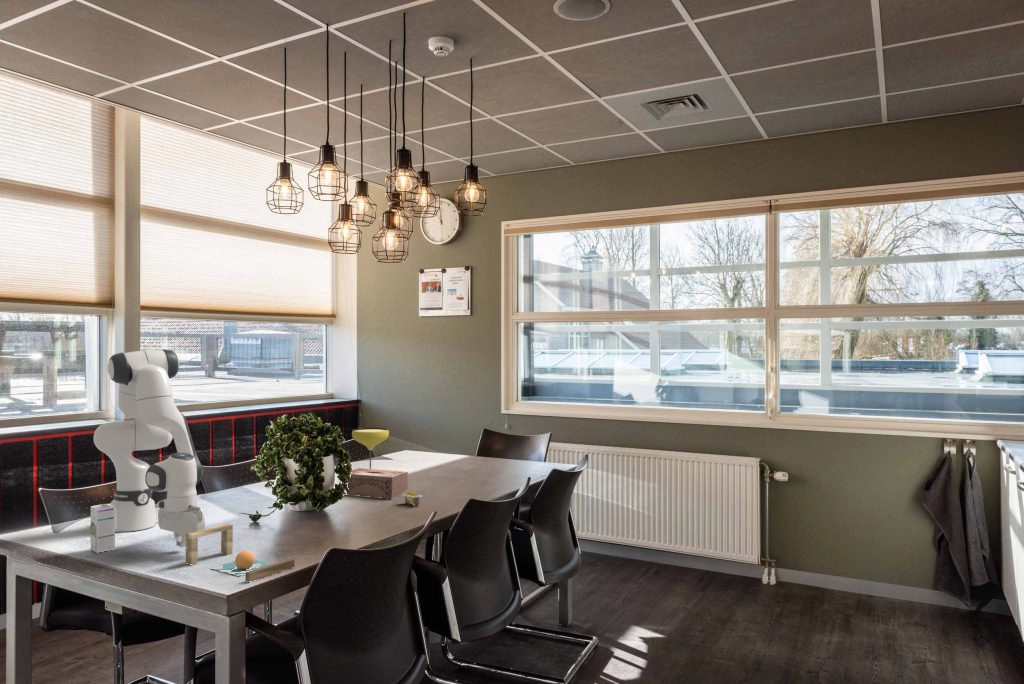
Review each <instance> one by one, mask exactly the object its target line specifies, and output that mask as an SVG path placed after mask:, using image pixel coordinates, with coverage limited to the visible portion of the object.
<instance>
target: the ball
mask: <svg viewBox="0 0 1024 684" xmlns="http://www.w3.org/2000/svg"><path fill="white" fill-rule="evenodd" d="M255 560H256V558H255V554H254V553H253V552H252V551H250V550H246V549H245V550H241V551H239V553H238V554H236V557H235V559H234V561H235V563H236V566H237V567H238V568H239V569H242V570H246V569H249V568H250V567H252V565H253V564H254V561H255Z"/></svg>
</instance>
